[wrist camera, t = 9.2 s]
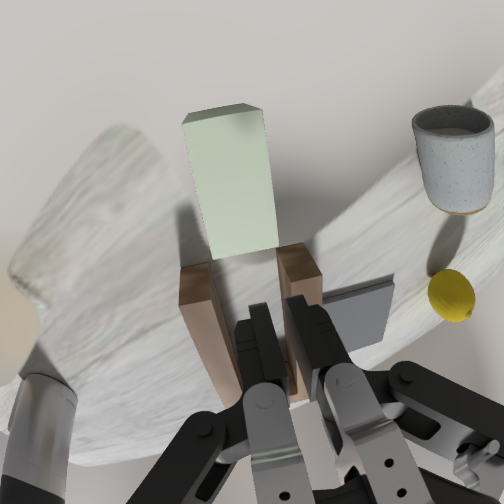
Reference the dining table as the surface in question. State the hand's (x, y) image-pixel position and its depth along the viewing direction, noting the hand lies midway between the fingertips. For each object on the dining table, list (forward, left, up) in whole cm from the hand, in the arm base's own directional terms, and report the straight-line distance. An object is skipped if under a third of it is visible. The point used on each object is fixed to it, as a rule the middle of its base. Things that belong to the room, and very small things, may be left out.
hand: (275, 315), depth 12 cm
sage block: (0, +3, -13) cm, 14 cm away
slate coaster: (+10, -18, -13) cm, 25 cm away
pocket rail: (-1, -15, -13) cm, 20 cm away
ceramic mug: (+20, +3, -14) cm, 25 cm away
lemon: (+22, -14, -13) cm, 30 cm away
